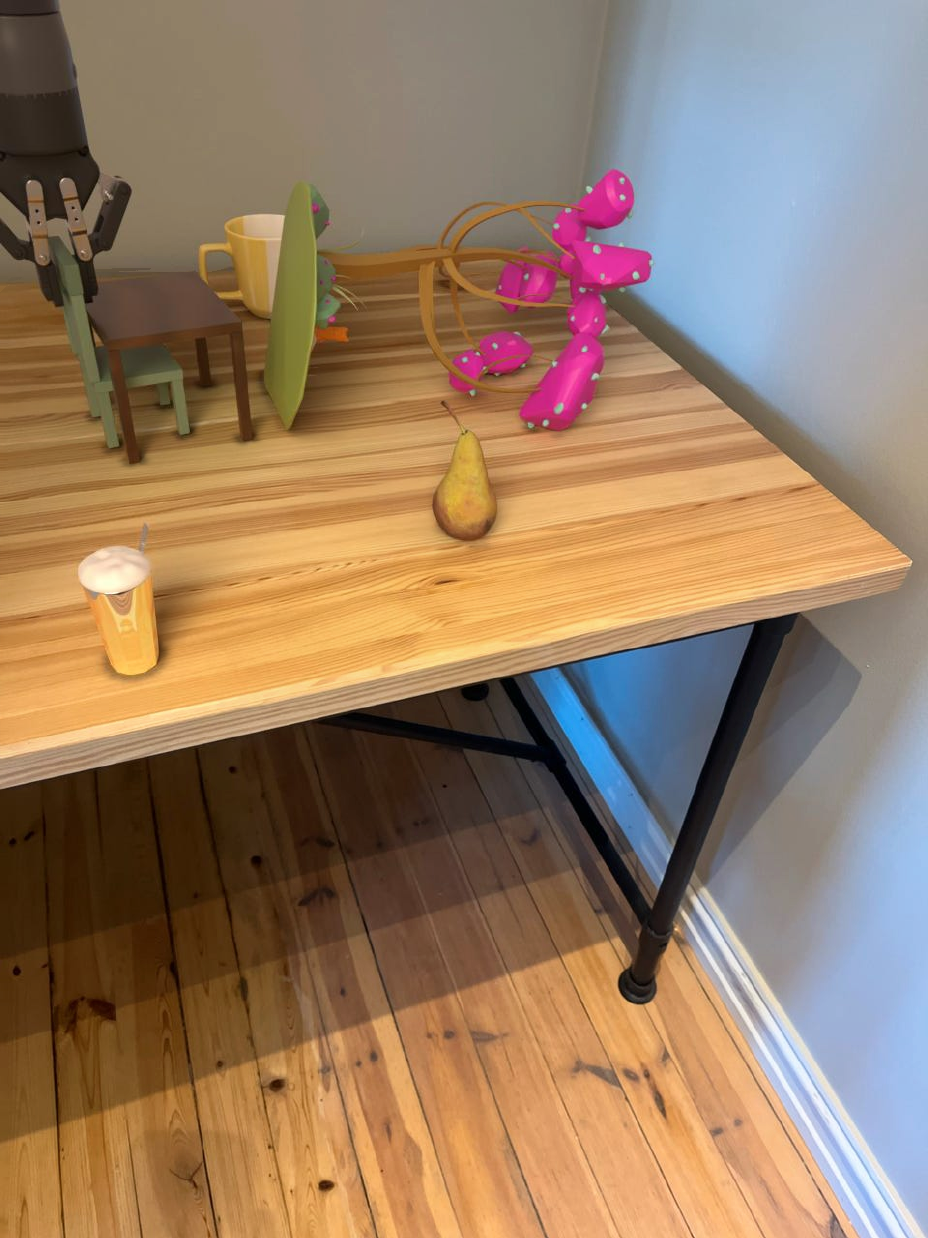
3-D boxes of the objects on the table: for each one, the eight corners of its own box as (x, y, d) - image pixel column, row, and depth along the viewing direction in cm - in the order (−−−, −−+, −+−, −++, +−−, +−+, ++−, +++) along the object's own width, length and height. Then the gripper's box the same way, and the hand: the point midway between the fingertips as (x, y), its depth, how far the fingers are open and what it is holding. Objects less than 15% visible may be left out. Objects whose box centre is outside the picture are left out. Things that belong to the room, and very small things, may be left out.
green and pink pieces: (283, 55, 86) (618, 122, 96) (258, 312, 108) (533, 343, 118) (307, 238, 69) (710, 294, 80) (272, 499, 91) (591, 515, 101)
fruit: (451, 558, 77) (459, 430, 69) (420, 524, 81) (425, 398, 73) (507, 543, 79) (521, 417, 72) (475, 510, 83) (485, 387, 75)
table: (129, 464, 85) (105, 340, 78) (95, 401, 95) (70, 285, 87) (253, 439, 90) (242, 321, 83) (209, 382, 100) (195, 270, 92)
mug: (310, 295, 121) (306, 211, 114) (319, 325, 113) (316, 238, 107) (203, 298, 118) (193, 212, 111) (206, 329, 110) (195, 239, 104)
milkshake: (190, 649, 66) (171, 535, 60) (133, 691, 63) (105, 575, 56) (146, 625, 68) (122, 512, 62) (87, 664, 64) (56, 549, 58)
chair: (102, 450, 86) (63, 266, 76) (84, 413, 92) (44, 236, 81) (191, 433, 90) (166, 254, 79) (168, 399, 95) (142, 227, 84)
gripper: (105, 68, 76) (139, 279, 87) (-81, 72, 70) (-19, 297, 81) (128, 86, 71) (161, 307, 82) (-70, 91, 65) (-5, 328, 76)
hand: (71, 301), depth 81 cm, fingers closed
